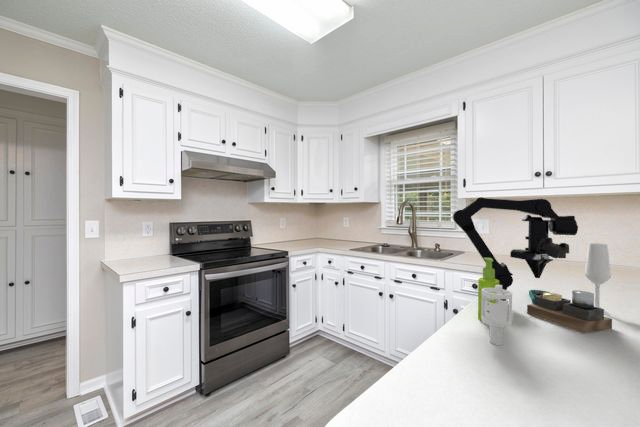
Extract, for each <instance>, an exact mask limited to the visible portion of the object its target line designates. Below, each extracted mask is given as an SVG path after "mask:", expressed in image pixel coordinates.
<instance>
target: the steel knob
mask: <svg viewBox="0 0 640 427" xmlns="http://www.w3.org/2000/svg"><path fill="white" fill-rule="evenodd" d="M571 293H572V294H571V296H572V297H571V299H572V300H571V303H572V304H573V305H575V306H578V307H583V308H594V306H595V293H594V292H590V291H585V290H576V289H575V290H571Z"/></svg>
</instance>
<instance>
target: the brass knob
mask: <svg viewBox="0 0 640 427" xmlns="http://www.w3.org/2000/svg"><path fill="white" fill-rule="evenodd" d="M547 292H548V291H547ZM547 292H546V293H543V298H545V299H549V300H552V301H562V298H563V296H562V294H560V293H554V292H550V293H547Z"/></svg>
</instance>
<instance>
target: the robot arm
mask: <svg viewBox="0 0 640 427" xmlns="http://www.w3.org/2000/svg"><path fill="white" fill-rule="evenodd" d="M482 209H493V210H503V211H504V210H505V211H517V212H521V213H524V214H526V215H525V217H523V218H522V219H521V221H522V222H528V234H527V235H528V236H525V240H527V242H528V246H527V247H525V248H524V249H521V248H520V249H519V248H518V249H517V248H515V249H514V248H513V249H511V250H510V254H509V255H510V256H509V257H510V258H514V259H520V260H525V262H526V264H527V265H528V267H529V269H530V270H531V273H532V274H533V277H534V278H535V279H541V276H542V274H543V272H544V269H545V267H546V265H547V264H549V263H550V262H553V261H554V259H566V258H567V255H568V254H570V245H569V244H568V243H566V242H560V243H554V242H553V237H549V232H550V233H552V234H553V235H555V236H576V235H577V234H578V230H579V229H578V228H579V225H578V222H577V221H576V217H575V215H561V216H560V215H558V214H557V213H556V212H555V210H553V208H552V204H551V202H550V201H549V200H547V199H545V198H536V199H523V200H514V199H503V198H502V199H498V198H485V197H481V196H480V197H478V198H476V199H474V200H473V201H471V203H469V204H468V205H467V206H465V207H463V208H462V209H457V210H456V211H454V212H453V214H452V220H453V221H454V223H455V224H456V225H457V226H458V228H460V229H461V230H462V231H463V232H464V233H465V234H466V236H467V237H468V239H469V240H470V242H471V243H472V245H473V246H474V248H475V249H476V251H477V252H478V254H479V255H480V257H481V259H482V260H483V261H484V262H485V263H484V264H486V260H485V259H483V258H484V257H485V258H492V259H493V262H492V268H493V269H495V279H497V280H499V285H502V289H504V290H508V288H510V286H512V284H513V282H514V278H513V276H514V274H513V273H512V272H511V271H510V270H509V268H508V266H507V264H505V262H501V263H500V262H498V260H497V259H496V258H495V256H494V255H493V252H491V250H490V248H489V247H488V246H487V244H486V242H485V241H484V239H483V238H482V237H481V235H480V234H479V232H478V231H477V229H476V226H475V224H474V221H473V218H472V217H473V216H474V215H475V214H476V213H478V212H479V211H480V210H482ZM531 215H533V216H531ZM543 218H544V219H543ZM550 257H551V258H550ZM500 300H502V301H506V300H507V299H500Z"/></svg>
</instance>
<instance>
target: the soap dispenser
mask: <svg viewBox="0 0 640 427" xmlns="http://www.w3.org/2000/svg"><path fill="white" fill-rule="evenodd" d="M483 259H485V260H486V263H485V267H483V268H482V277H479V278H478V279H477V280H478V285H477V286H478V290H477V292H478V293H477V294H478V296H477V297H478V298H477V299H478V300H477V304H478V305H477V309H478V310H477V319H478V320H479V321H481V322H483V321H482V320H481V299H482V294H481V289H482V288H495V285H499V280H497V279H495V269H493V268H492V262H493V259H492V258H485V257H484V258H482V260H483ZM489 293H494V294H496V292H489ZM485 297H487V296H485ZM496 300H497V299H495V300H490V302H491V303H495V304H496Z"/></svg>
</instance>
